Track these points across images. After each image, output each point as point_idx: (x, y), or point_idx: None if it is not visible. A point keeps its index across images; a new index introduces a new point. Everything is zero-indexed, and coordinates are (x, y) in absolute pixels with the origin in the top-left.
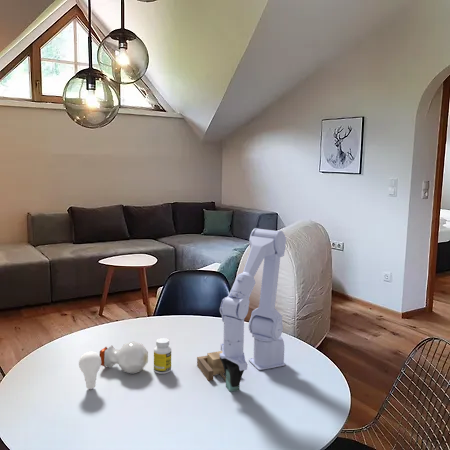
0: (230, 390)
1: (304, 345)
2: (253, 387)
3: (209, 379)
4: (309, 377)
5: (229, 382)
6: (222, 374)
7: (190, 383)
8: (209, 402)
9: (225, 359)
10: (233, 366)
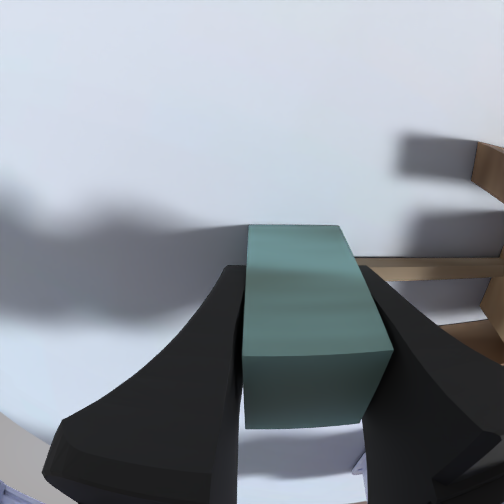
0: (249, 235)
1: None
2: None
3: (484, 152)
4: (245, 485)
5: (261, 270)
6: (477, 270)
7: (494, 6)
8: (138, 5)
9: (452, 469)
10: (75, 496)
